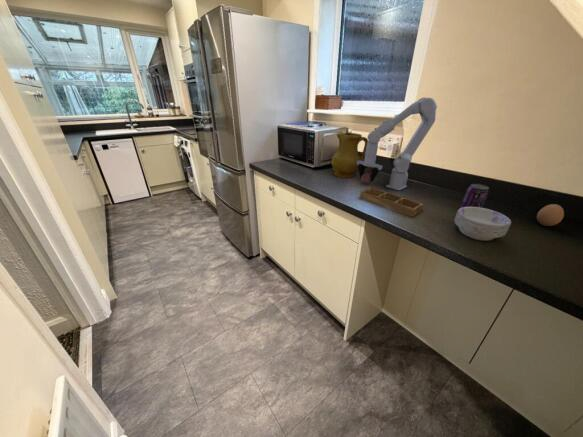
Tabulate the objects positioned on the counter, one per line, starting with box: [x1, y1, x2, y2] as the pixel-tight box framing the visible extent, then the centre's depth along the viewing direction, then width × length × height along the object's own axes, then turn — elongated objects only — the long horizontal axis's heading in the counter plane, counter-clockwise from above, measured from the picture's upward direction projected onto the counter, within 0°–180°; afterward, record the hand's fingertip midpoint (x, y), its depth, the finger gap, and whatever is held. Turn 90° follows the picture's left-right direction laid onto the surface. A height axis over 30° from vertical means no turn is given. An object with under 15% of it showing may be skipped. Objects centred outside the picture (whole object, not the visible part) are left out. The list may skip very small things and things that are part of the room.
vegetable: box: [360, 167, 371, 185], centre depth 129 cm, size 6×6×10 cm
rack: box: [359, 187, 424, 218], centre depth 107 cm, size 9×26×4 cm, turn 41°
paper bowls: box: [454, 207, 512, 242], centre depth 83 cm, size 15×15×8 cm
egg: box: [536, 203, 565, 227], centre depth 90 cm, size 7×7×9 cm
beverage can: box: [459, 183, 490, 209], centre depth 98 cm, size 7×7×12 cm
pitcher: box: [331, 131, 369, 179], centre depth 140 cm, size 17×19×25 cm
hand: (366, 179), depth 130 cm, fingers closed on vegetable, 6 cm apart
